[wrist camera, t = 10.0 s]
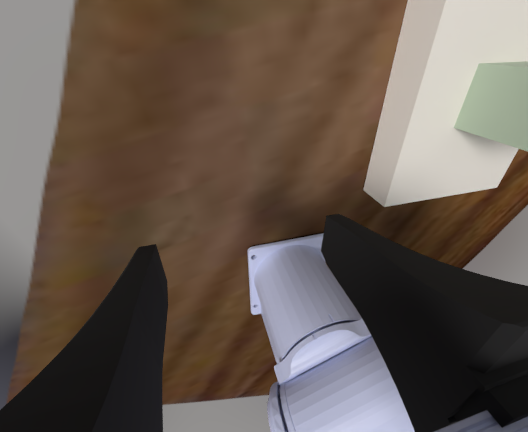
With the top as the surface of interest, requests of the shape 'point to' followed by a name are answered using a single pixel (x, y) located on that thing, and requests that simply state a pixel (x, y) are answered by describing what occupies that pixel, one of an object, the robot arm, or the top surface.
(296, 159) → the top surface
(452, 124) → the base plinth
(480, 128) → the green block
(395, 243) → the robot arm
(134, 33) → the top surface
